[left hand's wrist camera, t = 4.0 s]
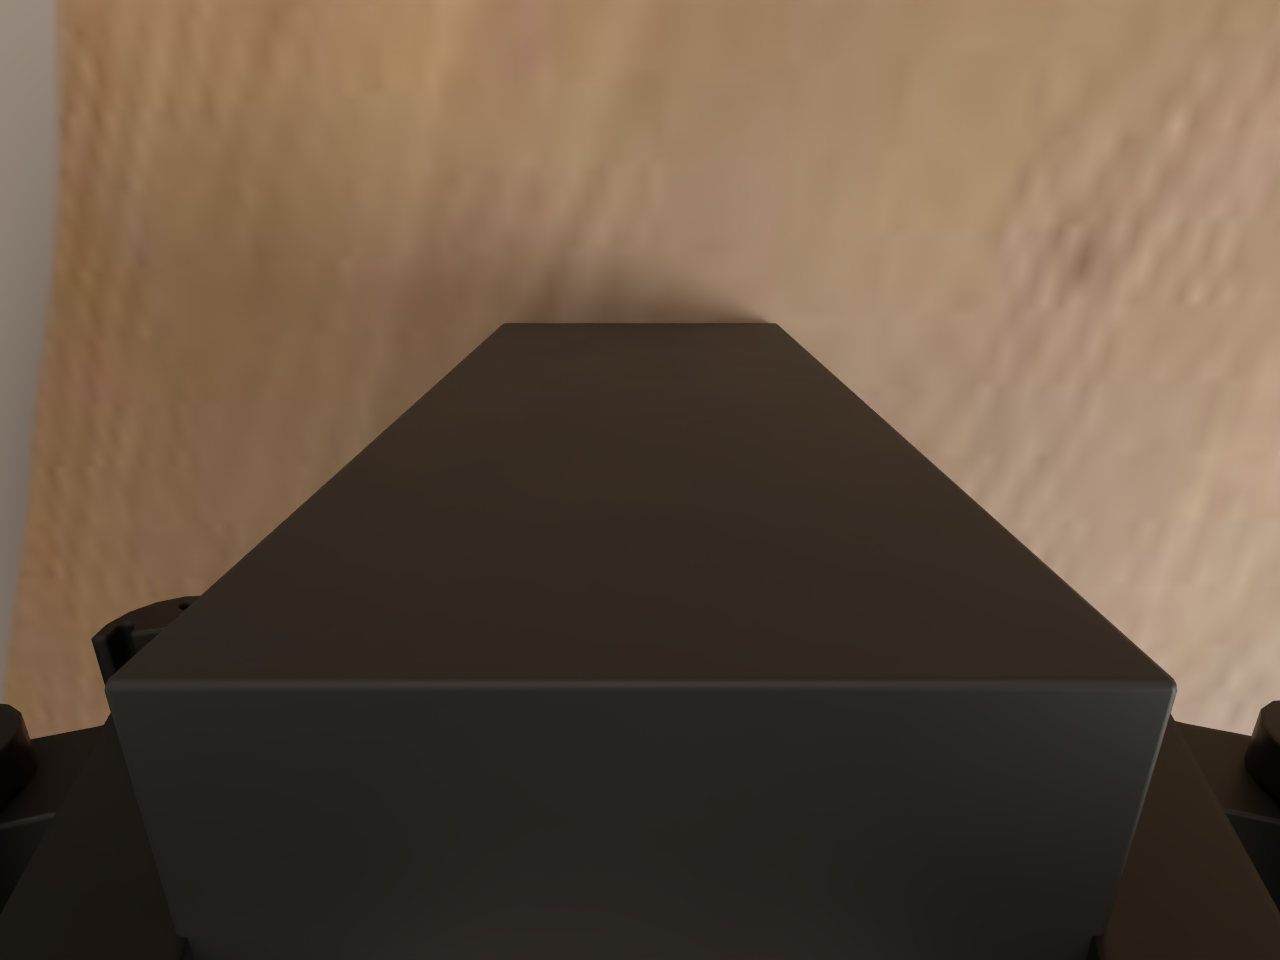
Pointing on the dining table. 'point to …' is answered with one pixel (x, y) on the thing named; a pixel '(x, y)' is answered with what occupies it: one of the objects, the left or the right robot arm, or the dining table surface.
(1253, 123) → the dining table surface
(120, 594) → the dining table surface
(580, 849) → the box
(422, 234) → the dining table surface
